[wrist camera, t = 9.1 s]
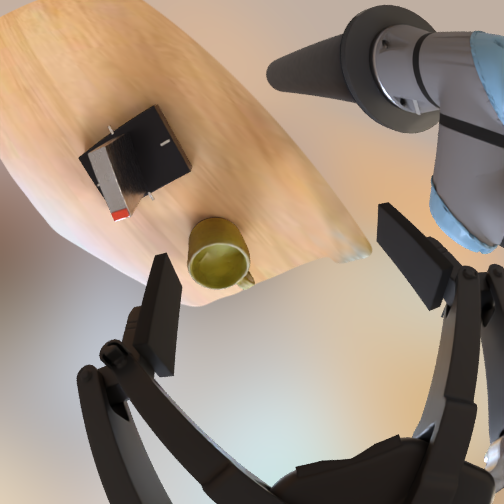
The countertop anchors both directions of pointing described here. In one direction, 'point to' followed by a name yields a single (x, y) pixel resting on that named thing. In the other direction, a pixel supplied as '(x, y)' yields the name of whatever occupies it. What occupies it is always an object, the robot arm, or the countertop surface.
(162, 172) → the base
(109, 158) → the tap handle
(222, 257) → the mug
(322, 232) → the countertop surface
